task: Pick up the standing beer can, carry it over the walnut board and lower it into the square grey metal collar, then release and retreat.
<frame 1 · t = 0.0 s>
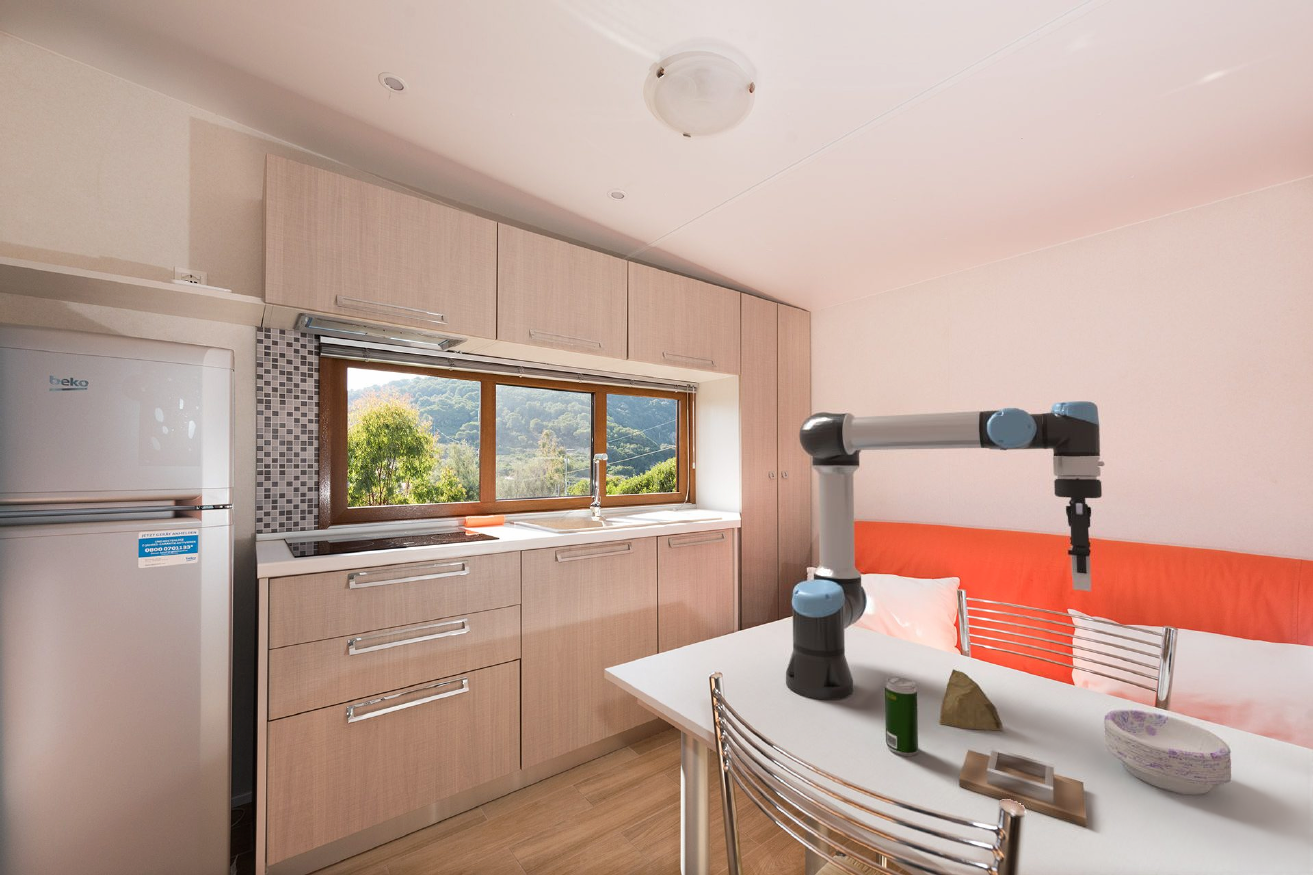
hand: (1080, 583, 107), 28 cm above the table, fingers open, 13 cm apart
beer can: (902, 750, 97), on the table
socket board: (1021, 787, 86), on the table
rock: (971, 726, 106), on the table
paper bowls: (1165, 779, 89), on the table
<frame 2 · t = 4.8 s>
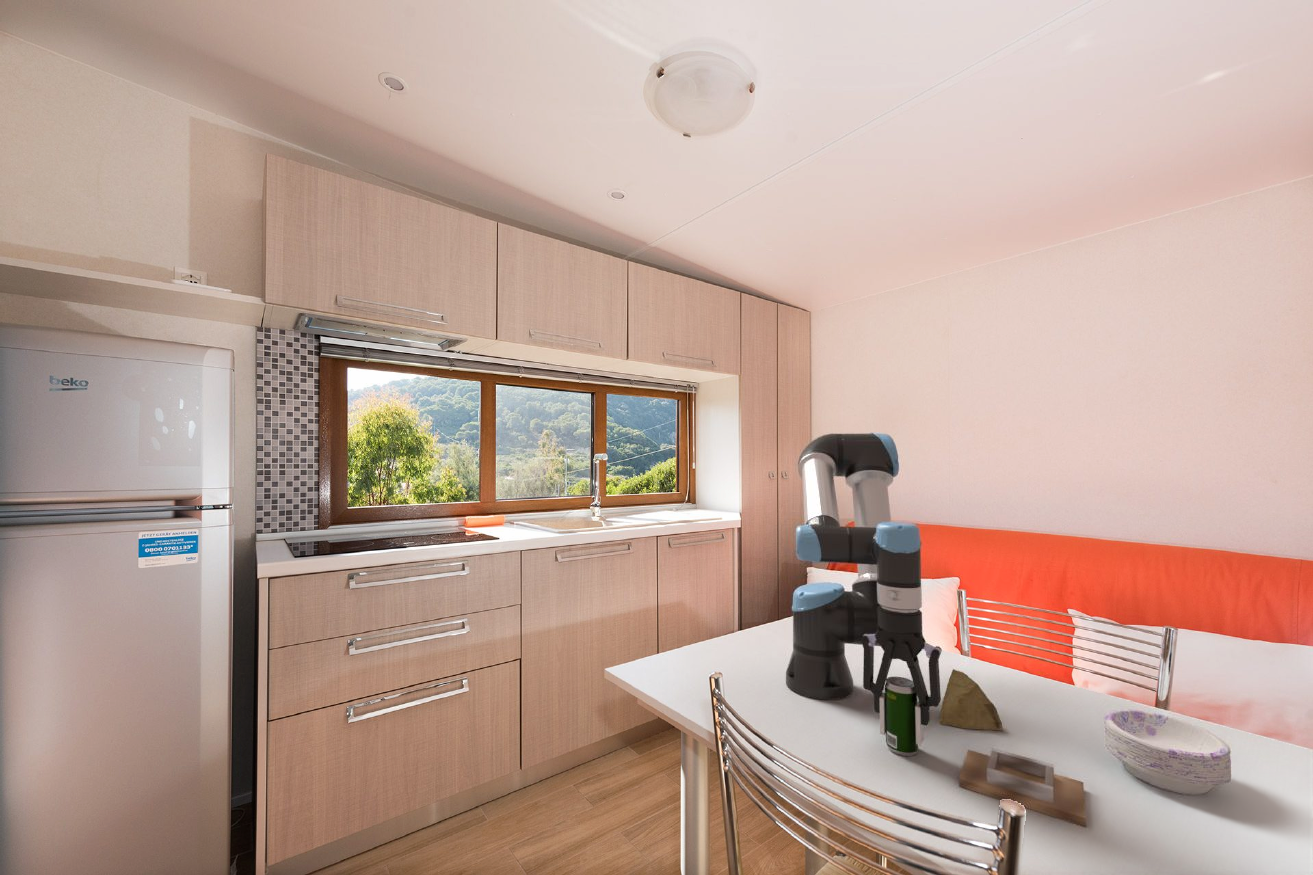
hand: (901, 735, 97), 2 cm above the table, fingers closed on beer can, 5 cm apart
beer can: (902, 750, 97), on the table, touching gripper
everything else where it was.
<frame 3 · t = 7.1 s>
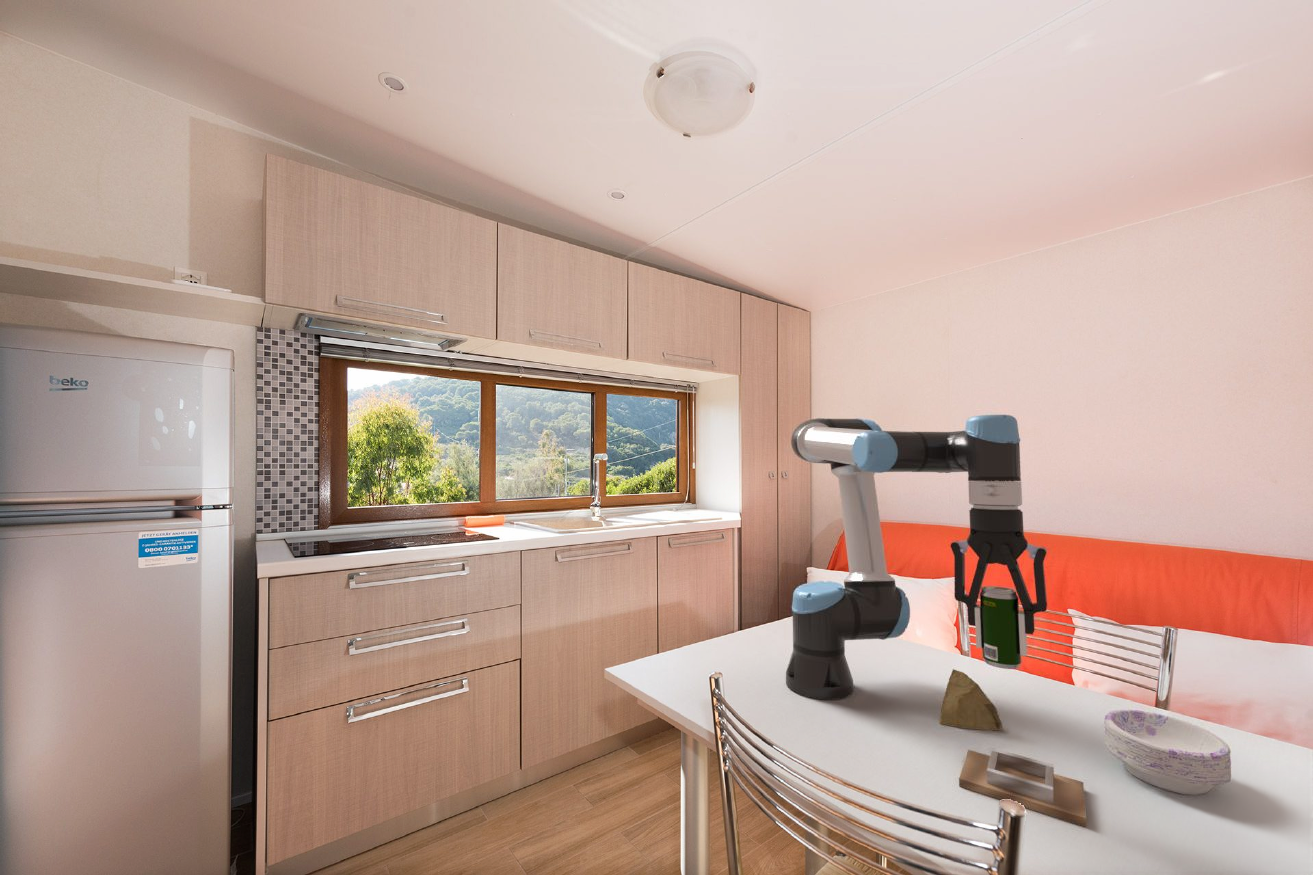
hand: (1001, 649, 88), 22 cm above the table, fingers closed on beer can, 5 cm apart
beer can: (1001, 664, 87), point 19 cm above the table, touching gripper
everything else where it was.
when the fingers open (5 cm above the table, at t = 9.6 s): beer can drops 1 cm, resting on socket board.
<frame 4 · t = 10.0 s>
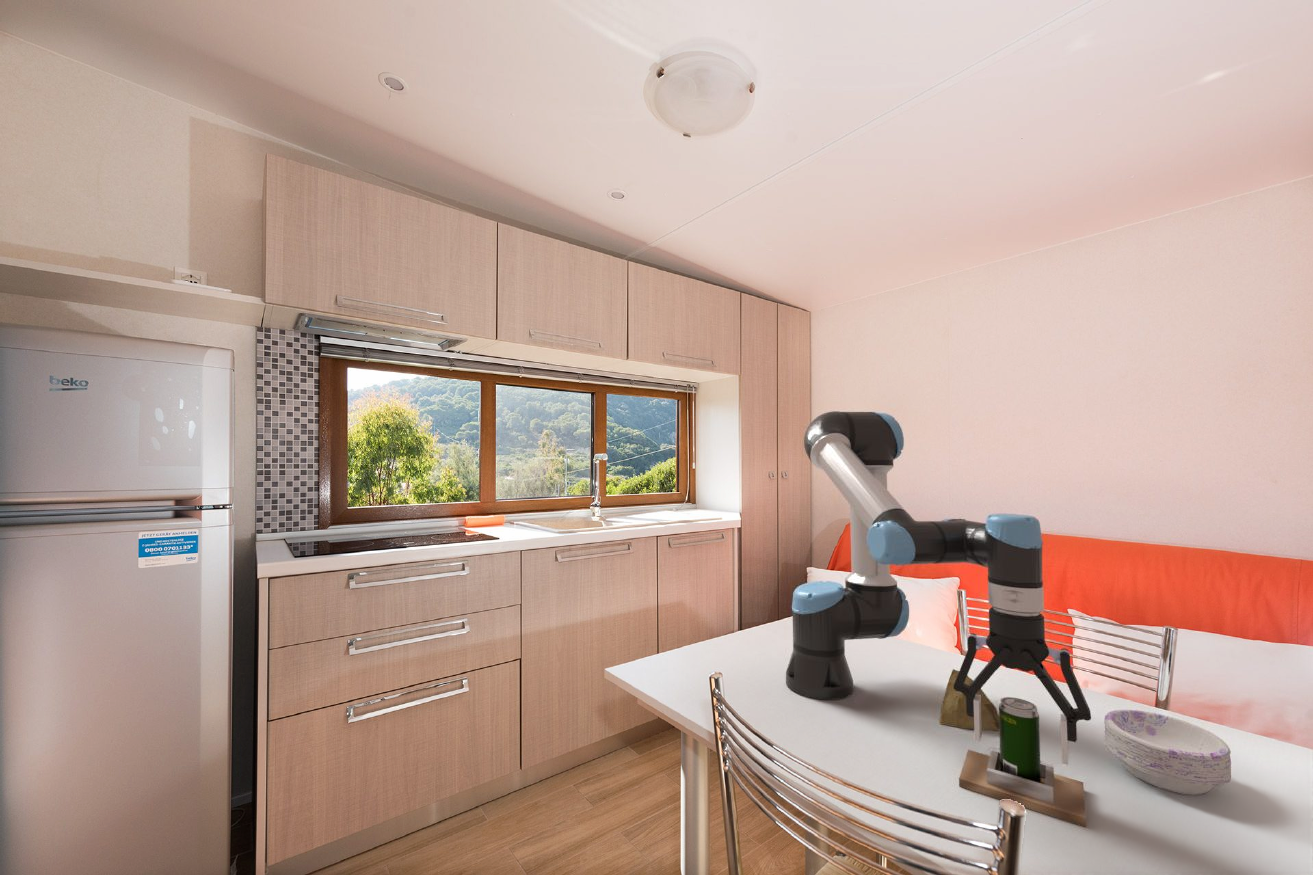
hand: (1019, 748, 86), 6 cm above the table, fingers open, 11 cm apart
beer can: (1020, 781, 86), point 1 cm above the table, touching socket board
everything else where it was.
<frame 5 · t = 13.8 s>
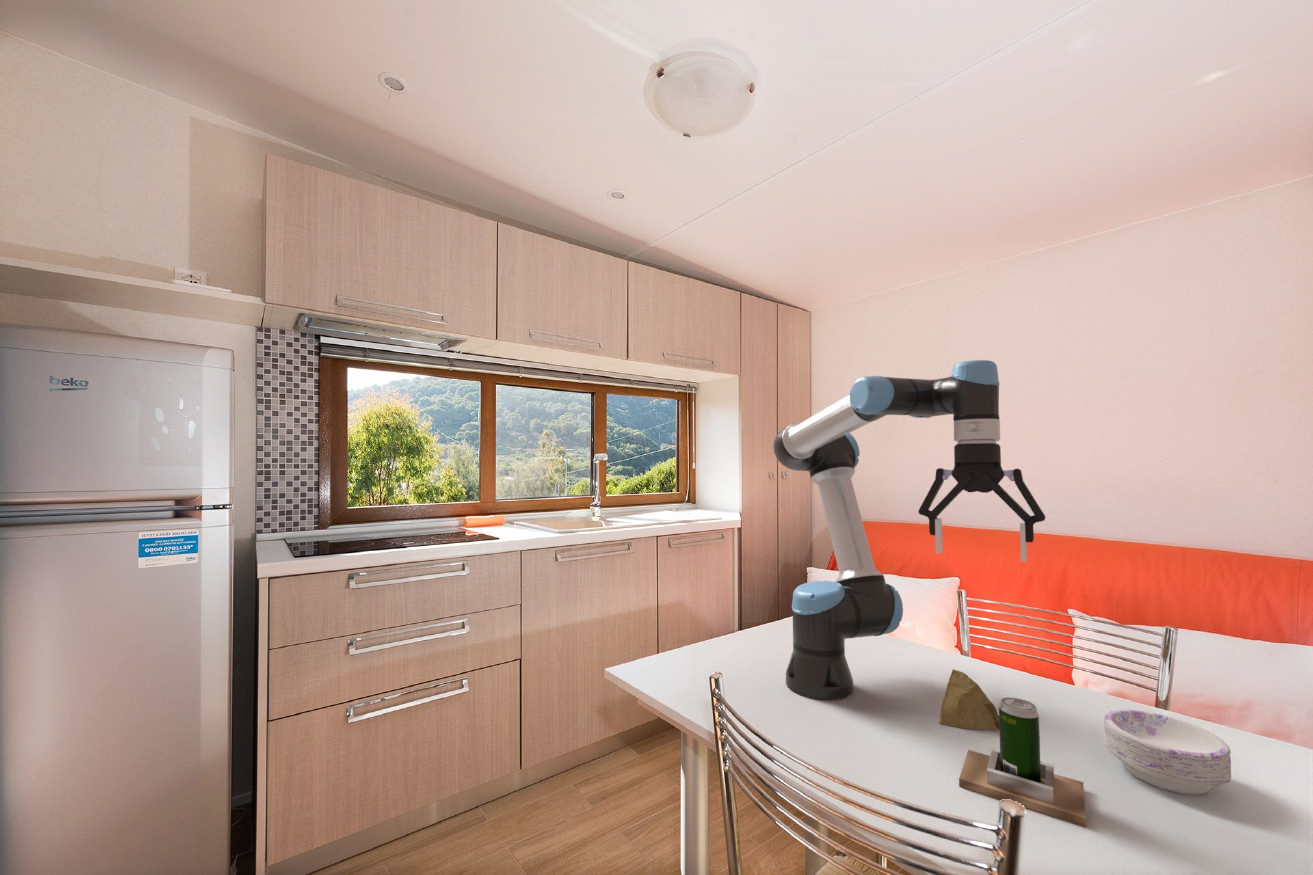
hand: (979, 556, 100), 35 cm above the table, fingers open, 13 cm apart
nothing on the table moved.
at the end: beer can 0.1 cm from the socket board (horizontally); beer can tilted 0°; the gripper is holding nothing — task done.
